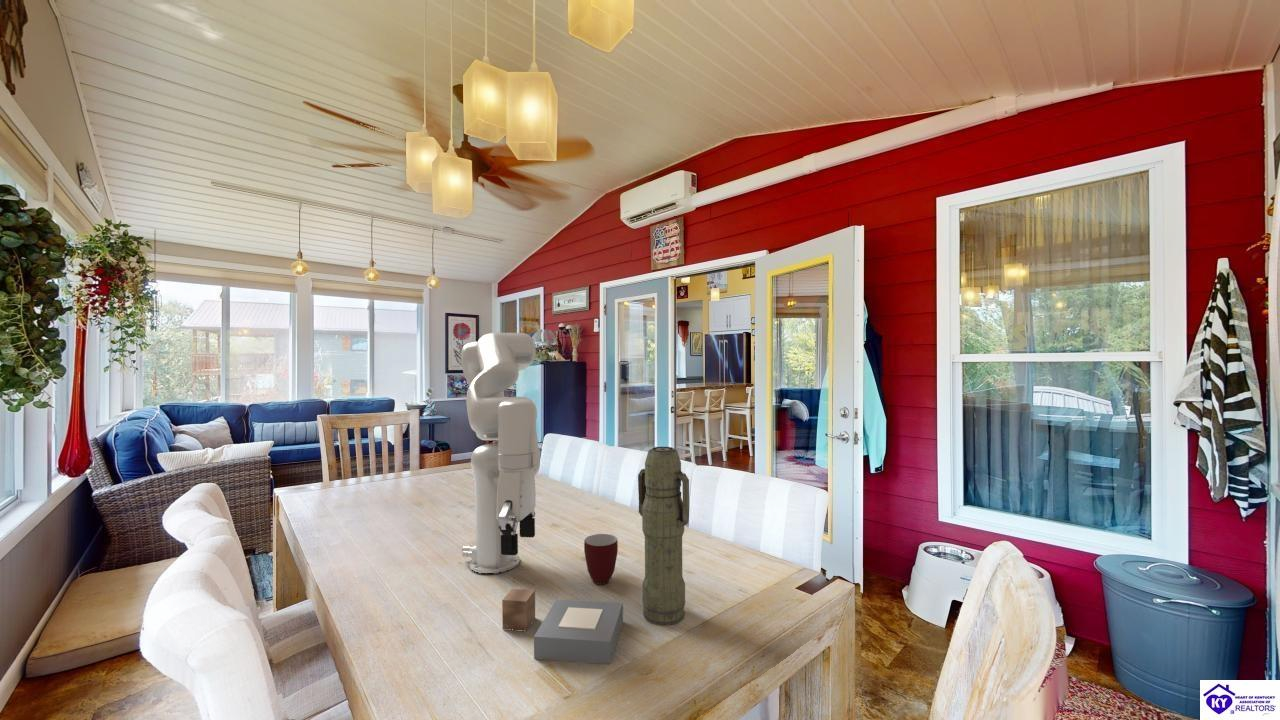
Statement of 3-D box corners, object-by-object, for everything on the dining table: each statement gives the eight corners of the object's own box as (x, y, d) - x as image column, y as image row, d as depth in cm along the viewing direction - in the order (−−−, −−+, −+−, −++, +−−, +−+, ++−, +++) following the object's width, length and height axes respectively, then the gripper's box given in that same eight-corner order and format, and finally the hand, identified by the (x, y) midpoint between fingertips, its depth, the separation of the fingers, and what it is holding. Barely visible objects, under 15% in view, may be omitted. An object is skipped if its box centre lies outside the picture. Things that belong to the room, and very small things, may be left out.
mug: (597, 567, 128) (597, 528, 128) (626, 572, 126) (626, 532, 125) (578, 585, 118) (578, 543, 118) (610, 590, 116) (609, 547, 116)
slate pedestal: (534, 658, 90) (533, 635, 90) (556, 617, 104) (556, 597, 104) (610, 664, 88) (610, 640, 88) (623, 622, 102) (622, 601, 102)
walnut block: (502, 629, 100) (502, 600, 100) (512, 616, 105) (511, 588, 105) (526, 631, 99) (526, 601, 99) (535, 618, 104) (534, 589, 104)
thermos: (648, 598, 112) (647, 443, 111) (697, 611, 106) (696, 447, 106) (628, 617, 104) (627, 449, 104) (680, 632, 98) (679, 455, 98)
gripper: (515, 453, 110) (517, 530, 110) (481, 469, 93) (482, 561, 93) (548, 453, 109) (549, 531, 109) (519, 470, 92) (521, 563, 92)
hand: (518, 545), depth 101 cm, fingers open, 9 cm apart
